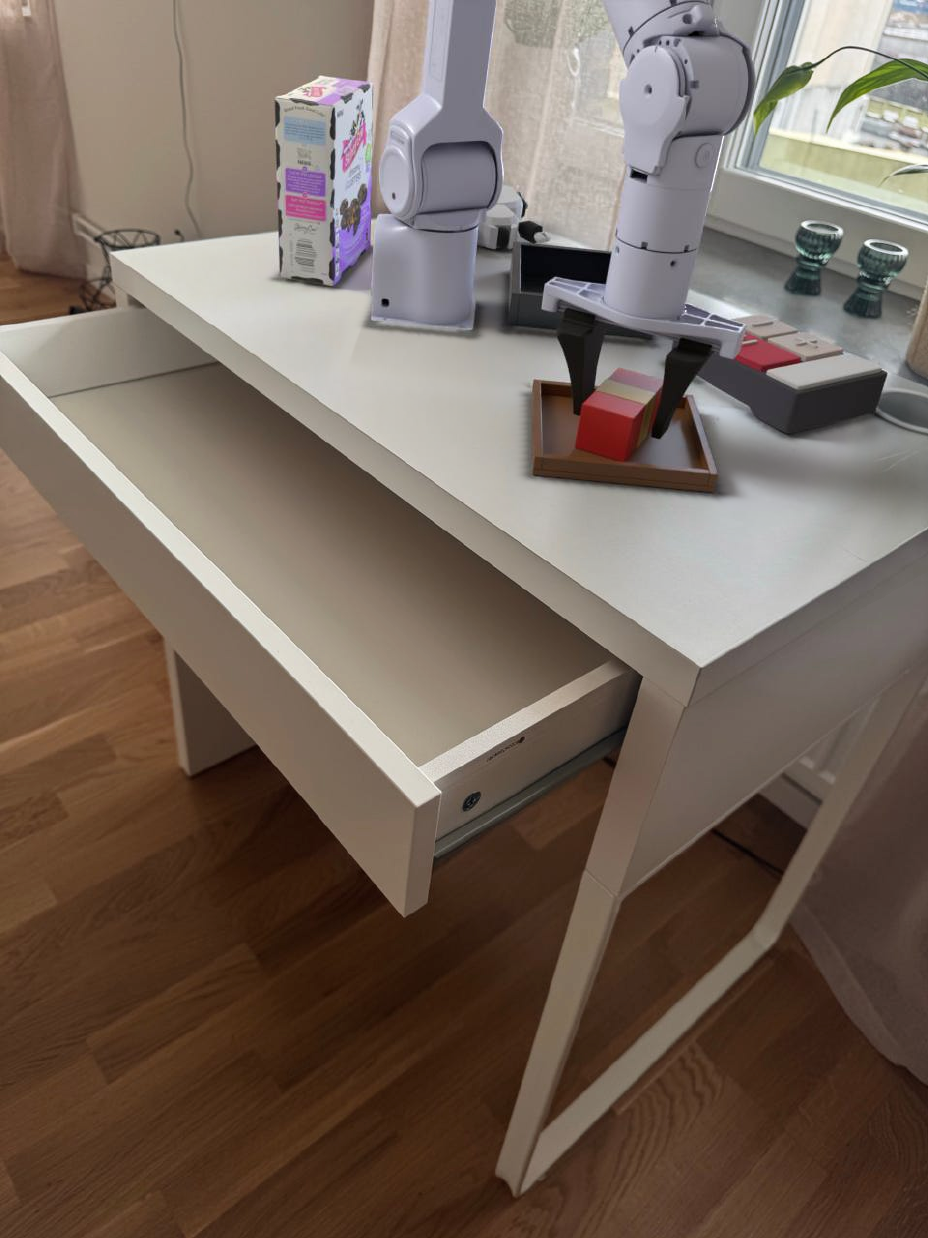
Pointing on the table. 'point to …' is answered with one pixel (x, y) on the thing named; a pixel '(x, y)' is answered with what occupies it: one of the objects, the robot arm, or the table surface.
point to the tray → (652, 463)
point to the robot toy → (509, 222)
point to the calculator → (794, 377)
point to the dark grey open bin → (541, 266)
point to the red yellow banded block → (619, 414)
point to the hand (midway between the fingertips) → (619, 421)
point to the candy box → (324, 178)
